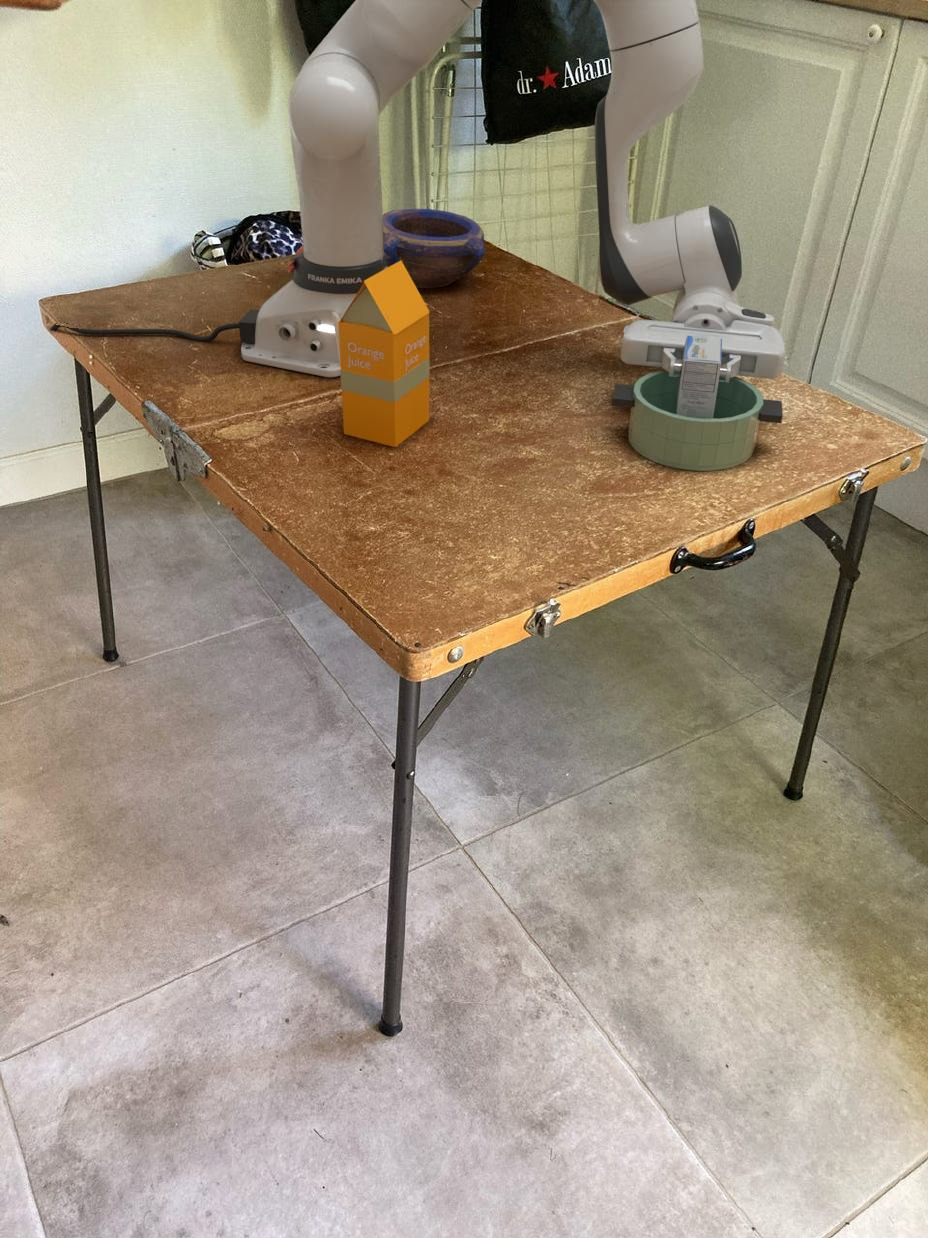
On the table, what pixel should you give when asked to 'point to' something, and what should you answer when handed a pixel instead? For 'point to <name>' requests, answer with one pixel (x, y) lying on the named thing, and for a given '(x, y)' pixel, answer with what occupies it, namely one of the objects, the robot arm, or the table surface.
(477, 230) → the bowl
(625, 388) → the pot handles
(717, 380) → the medicine box
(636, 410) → the pot
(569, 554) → the table surface
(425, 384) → the orange juice
